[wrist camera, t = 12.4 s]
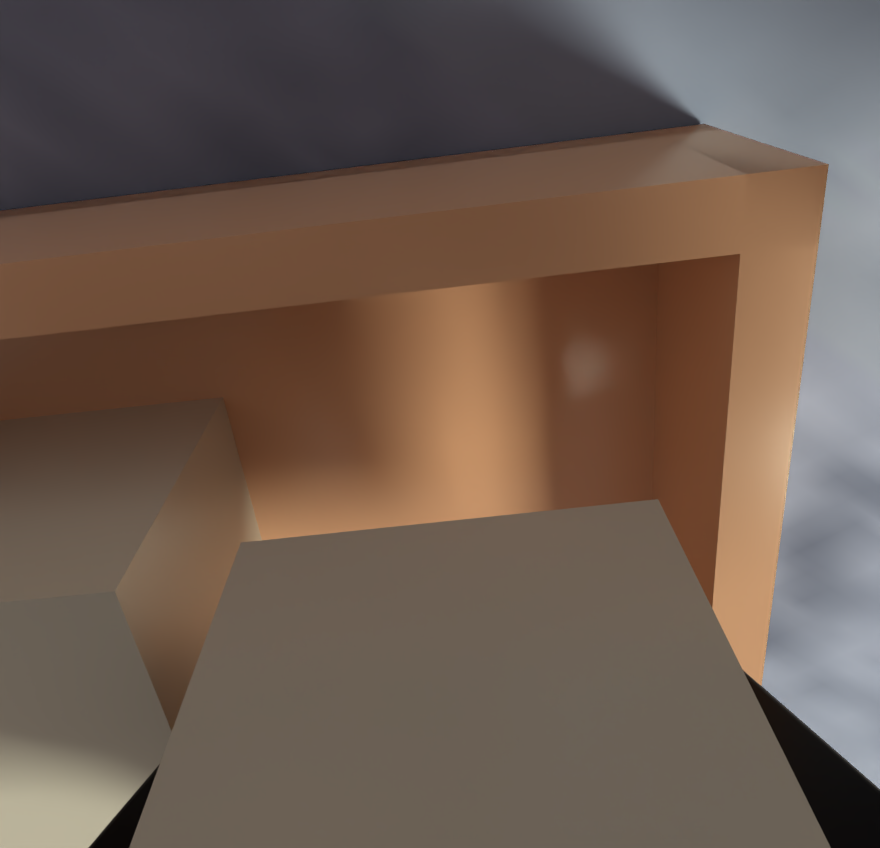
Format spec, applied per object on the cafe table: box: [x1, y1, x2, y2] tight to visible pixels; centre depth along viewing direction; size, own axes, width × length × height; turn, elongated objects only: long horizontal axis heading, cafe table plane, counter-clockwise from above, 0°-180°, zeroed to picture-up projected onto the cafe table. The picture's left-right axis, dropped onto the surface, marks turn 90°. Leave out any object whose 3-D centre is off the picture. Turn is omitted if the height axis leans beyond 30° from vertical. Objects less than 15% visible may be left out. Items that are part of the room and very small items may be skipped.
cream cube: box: [0, 397, 262, 848], centre depth 9 cm, size 4×4×4 cm
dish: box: [0, 124, 829, 685], centre depth 10 cm, size 12×9×3 cm
